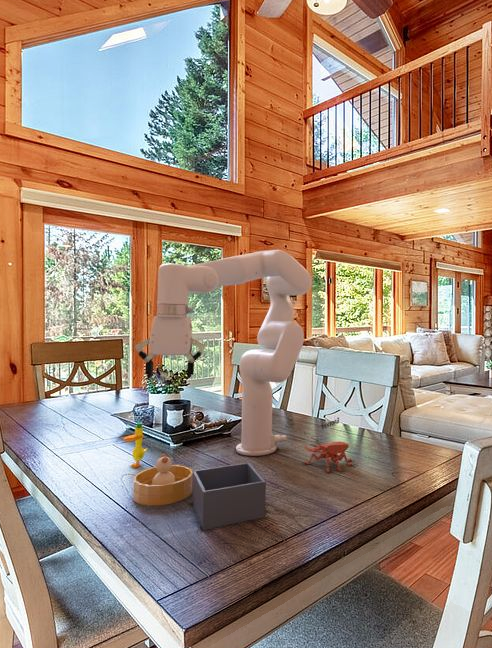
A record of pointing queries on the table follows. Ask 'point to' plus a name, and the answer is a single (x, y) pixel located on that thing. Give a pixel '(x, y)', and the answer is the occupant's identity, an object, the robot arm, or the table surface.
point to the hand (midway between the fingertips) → (169, 377)
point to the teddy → (163, 471)
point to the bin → (228, 495)
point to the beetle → (330, 450)
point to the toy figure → (137, 444)
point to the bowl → (162, 486)
